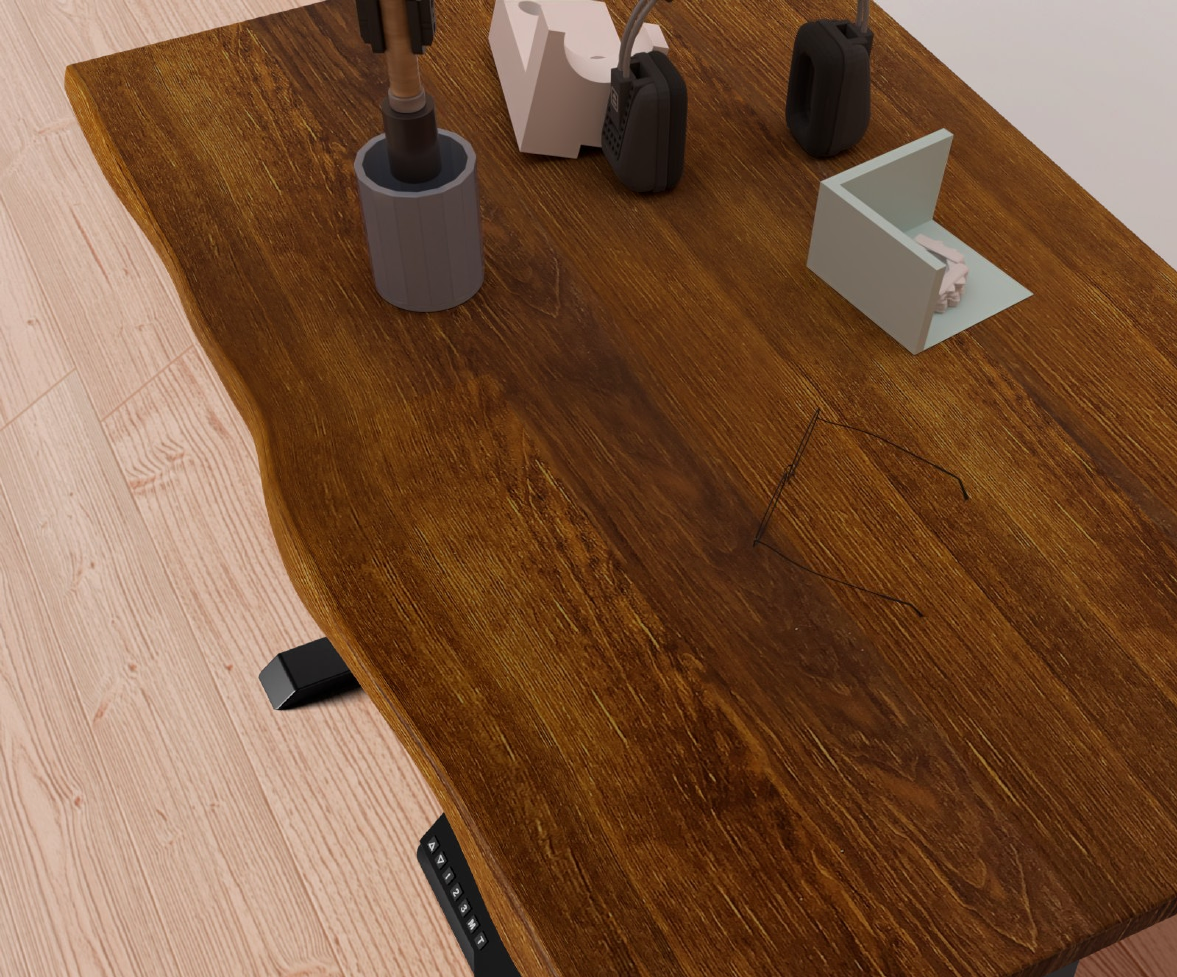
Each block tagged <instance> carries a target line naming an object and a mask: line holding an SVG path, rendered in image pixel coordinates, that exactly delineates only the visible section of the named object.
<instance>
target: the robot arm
mask: <svg viewBox="0 0 1177 977" xmlns="http://www.w3.org/2000/svg"><path fill="white" fill-rule="evenodd" d="M354 2H355V7H356V14H357V20H358V27H359V33H360V34H359V35H360V37H361V39H362V41H363V43H364V44H366V45H371V51H372V54H386V51H385V43H384V35H383V28H382V21H381V14H380V6H379V0H355V1H354ZM406 5H407V13H408V22H409V30H410V38H411V47H412V53H413V54H415V55H417V56H418V55H419V56H422V55H423V56H424V55H425V54H426V50H427V47H431V46H432V44H433V41H434V38H435V34H436V31H437V19H436V18H437V17H436V8H435V0H406Z"/></svg>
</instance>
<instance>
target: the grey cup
mask: <svg viewBox="0 0 1177 977" xmlns="http://www.w3.org/2000/svg"><path fill="white" fill-rule="evenodd" d="M438 136H439V146H440V155H441V164H442V169H441V172H440V174H439V175H438V176H437V177H436V178H434V179H433V180H431V181H428V182H425V183H420V184H408V183H403V182H400V181H398V180H397V179H395V178H394V177H393V176H392V174H391V172H390V165H389V158H388V151H387V144H386V138H385V132H383V133H381V134H379V135H376V136H374V137H372V138H370V139H369V140H368V141H367V142H366V143H365V144H364V145H363V146H362V147H360V149H359V150H357V153H356V155H355V160H354V162H353V171H354V177H355V183H356V189H357V196H358V200H359V207H360V212H361V218H362V224H363V231H364V236H365V242H366V248H367V253H368V254H367V255H368V260H369V266H370V271H371V275H372V278H373V283H374V287H375V290H376V291H377V293H378V294H379V296H380V297H381V298H382V299H383V300H384V301H386V303H389V304H391V305H392V306H394V307H397V308H399V309H402V310H406V311H409V312H419V313H433V312H439V311H440V312H441V311H445V310H449V309H452V308H455V307H458V306H460V305H462V304H464V303H465V302H467V301H469V300H470V299H471V298H472V297H474V296H475V295H476V294H477V293H478V292H479V290H480V289H481V288H482V285H483V284H484V281H485V276H486V270H485V269H486V259H485V247H484V235H483V234H484V232H483V222H482V210H481V209H482V208H481V199H480V198H481V197H480V186H479V173H478V163H477V162H478V161H477V160H478V159H477V155H476V152H475V150H474V149H473V145H472V144H471V142H470V141H468V140H466V139H465V138H463V137H462V136H461V135H459V134H458V133H457V132H454V131H451V130H448V129H443V128H440V127H438Z"/></svg>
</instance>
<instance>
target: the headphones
mask: <svg viewBox="0 0 1177 977" xmlns="http://www.w3.org/2000/svg"><path fill="white" fill-rule="evenodd" d="M664 1H665V2H666V3H668V4H670V3H672V2H673V1H674V0H664ZM856 1H857V3H856V4H857V5H856V14H855V15H856V16H855V21H854V22H851V20H850V19H838V18H837V19H836V18H830V19H829V18H826V17H825V18H818V19H817V20H815V21H807V22H805V23H803V24H801V25H800V27H798V29H797V32H796V35H795V38H794V42H793V49H792V54H791V62H790V68H789V74H788V75H789V76H788V82H787V91H786V101H785V110H784V111H785V112H784V117H785V122H786V123H785V124H786V127H787V128H788V130H789V131H790V132H791V134H792V135H793V137H794V139H795V140H796V141H797V142H798V143H799V145H800V146H801V147H802V148H803V150H804V151H805V152H806V153H807V154H808V155H811V156H812V157H815V158H819V157H822V156H826V157H833V156H837V155H838V154H839V153H840V152H842V151H847V150H849V149H851V148H853V147H855V146H856V145H857V144H858V143H860V141H861V140H862V139H863V138H864V136H865V134H866V132H867V130H868V128H869V126H870V122H871V115H872V112H871V110H872V109H871V108H872V107H871V106H872V104H871V102H872V100H871V99H872V98H871V96H872V94H871V93H872V92H871V88H872V87H871V83H872V82H871V63H870V59H871V55H872V54H871V53H872V48H873V44H874V37H875V33H874V32H873V30H872V29H871V28H870V27H869V19H870V0H856ZM658 2H659V0H639V1H638V2H637V4H636V5H635V7H634V9H633V10H632V12H631V14H630V16H629V18H628V20H627V22H626V25H625V27H624V30H623V34H622V36H621V39H620V42H621V45H620V51H619V62H618V66H617V67H616V68H611V91H610V95H609V99H608V104H607V109H606V114H605V119H604V124H603V129H602V135H601V146H602V147H601V150H602V153H603V155H604V157H605V159H606V160H607V162H608V164H609V165H610V167H611V169H612V171H613V172H614V174H615V176H616V177H617V178H618V180H619V181H620V182H621V184H623V185H624V186H625V187H626V188H627V189H629V190H630V191H633V192H637V193H639V192H641V193H645V192H649V191H651V192H653V193H660V192H664V191H665V190H666V189H670V188H671V189H672V188H674V187H676V186H677V185H678V184H679V183H680V181H681V179H682V177H683V174H684V167H685V154H686V153H685V152H686V141H687V139H686V138H687V127H688V126H687V125H688V106H689V98H688V97H689V96H688V94H689V93H688V88H687V84H686V82H685V79H684V78H683V77H682V75H681V73H680V72H679V70H678V68H677V67H676V66H675V64H674V63H673V62H672V60H671V58H669V57H668V55H667V56H666V55H665V54H664V53H662V52H660V51H658V50H653V51H650V52H648V53H646V52H640V53H636V54H634V55H633V56H631V52H632V48H633V45H634V41H635V38H636V37H637V35H638V34H639V32H640V30H641V28H642V25H643V23H644V21H645V19H646V18H647V16H648V15H649V14H650V12H651V10H652V9H653V8H654V6H655V5H656V4H657V3H658Z"/></svg>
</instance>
